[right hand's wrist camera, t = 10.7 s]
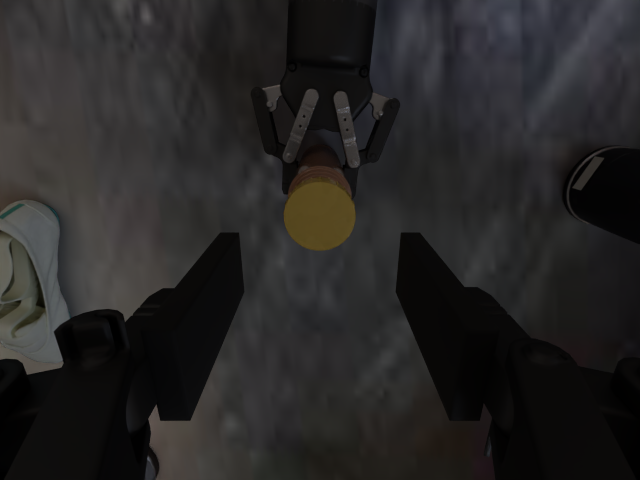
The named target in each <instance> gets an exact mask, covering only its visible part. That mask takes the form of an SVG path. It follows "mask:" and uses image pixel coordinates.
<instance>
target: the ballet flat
mask: <svg viewBox="0 0 640 480" xmlns="http://www.w3.org/2000/svg"><path fill="white" fill-rule="evenodd" d="M59 237H60V225H59V218H58V215H57V213H56V212H55V211H54V210H53V209H52V208H51V207H49V206H47V205H45V204H42V203H40V202H37V201H34V200H20V201H16V202H14V203H12V204H10V205H8V206H7V207H6V208H5V209H4V210H3V211H2V212H0V342H1V343H2V345H3V346H4V347H6V348H8V349H11V350H14V351H17V352H19V353H21V354H22V355H24V356H26V357H28V358H30V359H32V360H34V361H37V362H43V363H58V362H61V361H63V359H62V356H61V353H60V350H59V347H58V344H57V341H56V338H55V335H54V331H55V330H56V328H57V327H58V326H59V325H60V324H62V323H64V322H65V321H67V320H69V319H70V318H71V315H70V312H69V310H68V307H67V304H66V302H65V300H64V298H63V296H62V293H61V291H60V286H59V283H58V278H57V273H58V245H59Z"/></svg>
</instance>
